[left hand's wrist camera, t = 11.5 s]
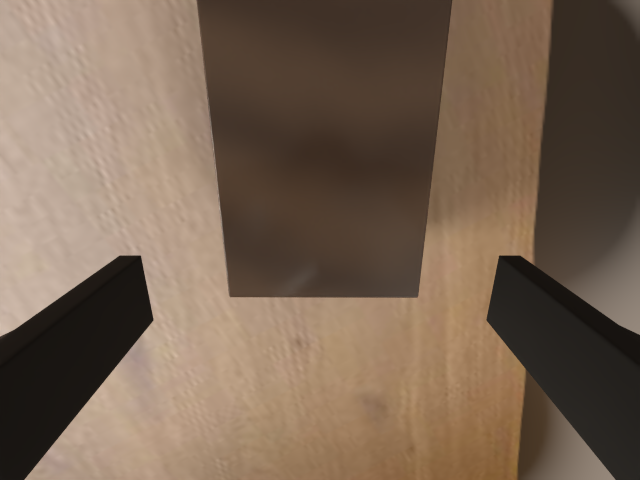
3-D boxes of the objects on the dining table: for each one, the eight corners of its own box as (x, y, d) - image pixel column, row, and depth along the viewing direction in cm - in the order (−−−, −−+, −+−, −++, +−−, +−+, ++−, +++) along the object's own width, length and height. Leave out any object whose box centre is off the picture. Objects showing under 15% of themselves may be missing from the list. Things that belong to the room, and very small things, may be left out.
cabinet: (240, -13, 21) (185, -96, 13) (406, -13, 21) (463, -98, 13) (258, 238, 27) (228, 297, 19) (388, 239, 27) (418, 298, 18)
